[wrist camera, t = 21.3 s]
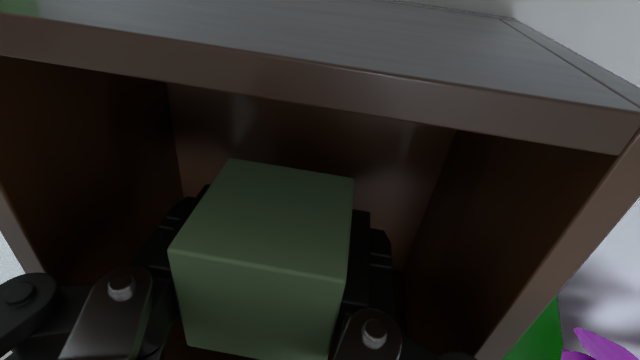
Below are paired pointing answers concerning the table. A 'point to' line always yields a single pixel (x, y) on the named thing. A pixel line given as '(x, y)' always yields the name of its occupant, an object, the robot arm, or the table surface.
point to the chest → (320, 142)
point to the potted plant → (547, 346)
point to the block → (264, 262)
